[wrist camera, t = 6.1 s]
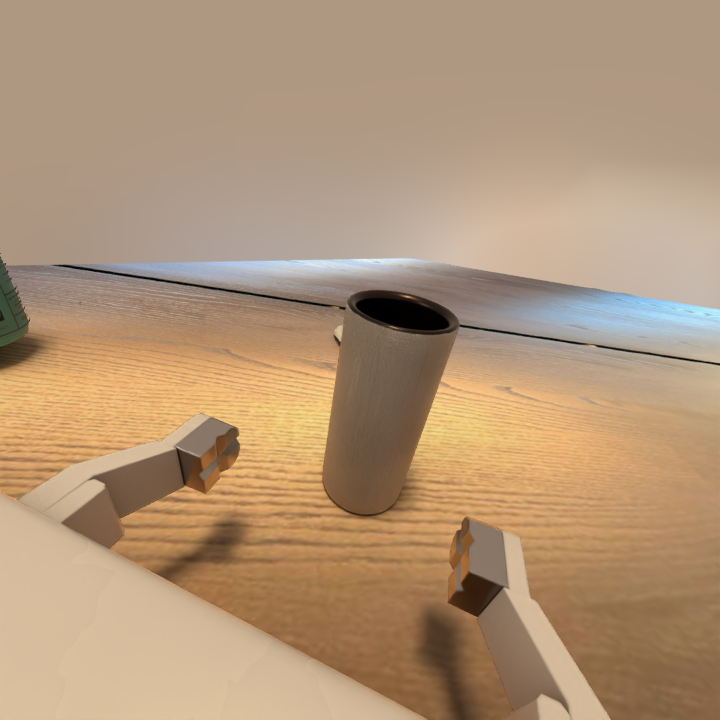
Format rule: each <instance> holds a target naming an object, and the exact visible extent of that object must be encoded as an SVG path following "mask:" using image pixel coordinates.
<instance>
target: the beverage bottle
mask: <svg viewBox="0 0 720 720" xmlns="http://www.w3.org/2000/svg"><path fill="white" fill-rule="evenodd" d="M5 265H6V263H5ZM5 265H4V264H3V261H2V259H1V257H0V347H1V346H4V345H7V344H9V343H12V342H14V341H16V340H18V339H20V338H21V337H23V336H24V335H25V334H26V333H27V332H28V324H29V323H28V322H29V321H30V319H29V321H28V319H27V317H26V315H27V314H25V312H24V309H25V307H24V309H23V308H22V305H21V304H22V303H20V302H21V301H19V298H20V297H18V296H17V295H18V293H19V291H17V293H16V292H15V289H16V288H15V289H14V287H13V285H12V282H11V279H12V278H9V275H8V270H7V271H6V268H5ZM16 287H17V286H16Z"/></svg>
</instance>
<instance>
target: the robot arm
mask: <svg viewBox="0 0 720 720" xmlns="http://www.w3.org/2000/svg"><path fill="white" fill-rule="evenodd" d="M238 436H239V430H238V428H236V427H234V426H232V425H229V424H227V423H225V422H222V421H220V420H218V419H215V418H213V417H210V416H208V415H205V414H203V413H200V414H196V415H195V416H193V417H192V418H191V419H189V420H188V421H187V422H185V423H184V424H183V425H181V426H180V427H179V428H177V429H176V430H175V431H173V432H172V433H171V434H169V435H168V436H167V437H165V438H164V439H163V440H161V441H158V440H155V441H152V442H148V443H145V444H142V445H138V446H135V447H131V448H128V449H125V450H121V451H118V452H114V453H111V454H108V455H104V456H101V457H97V458H94V459H91V460H87V461H84V462H80V463H77V464H73V465H70V466H69V467H67V468H65V469H64V470H62V471H61V472H59V473H58V474H56V475H55V476H53V477H51V478H50V479H48V480H47V481H45V482H44V483H42V484H41V485H39V486H37V487H36V488H34V489H33V490H31V491H30V492H28V493H27V494H25V495H23V496H22V497H20V498H19V499H17V500H16V499H14V498H12V497H11V496H9V495H7V494H5V493H3V492H1V491H0V720H428V719H426V718H425V717H423V716H421V715H419V714H417V713H415V712H413V711H411V710H410V709H408V708H406V707H404V706H402V705H400V704H398V703H396V702H395V701H393V700H391V699H389V698H387V697H385V696H383V695H381V694H380V693H378V692H376V691H374V690H372V689H370V688H368V687H366V686H365V685H363V684H361V683H359V682H357V681H355V680H353V679H352V678H350V677H348V676H346V675H344V674H342V673H340V672H338V671H337V670H335V669H333V668H331V667H329V666H327V665H325V664H323V663H322V662H320V661H318V660H316V659H314V658H312V657H310V656H308V655H307V654H305V653H303V652H301V651H299V650H297V649H295V648H293V647H292V646H290V645H288V644H286V643H284V642H282V641H280V640H278V639H277V638H275V637H273V636H271V635H269V634H267V633H265V632H263V631H262V630H260V629H258V628H256V627H254V626H252V625H250V624H248V623H247V622H245V621H243V620H241V619H239V618H237V617H235V616H234V615H232V614H230V613H228V612H226V611H224V610H222V609H220V608H219V607H217V606H215V605H213V604H211V603H209V602H207V601H205V600H204V599H202V598H200V597H198V596H196V595H194V594H192V593H190V592H189V591H187V590H185V589H183V588H181V587H179V586H177V585H175V584H174V583H172V582H170V581H168V580H166V579H164V578H162V577H160V576H159V575H157V574H155V573H153V572H151V571H149V570H147V569H145V568H144V567H142V566H140V565H138V564H136V563H134V562H132V561H130V560H129V559H127V558H125V557H123V556H121V555H119V554H117V553H115V552H114V551H112V550H110V548H111V547H112V546H113V545H114V544H115V543H116V542H117V541H118V540H119V539H120V538H121V537H122V536H123V535H124V531H125V530H124V528H123V525H122V523H121V521H120V518H122V517H124V516H127V515H129V514H131V513H133V512H135V511H137V510H139V509H141V508H143V507H145V506H147V505H149V504H151V503H153V502H155V501H157V500H159V499H161V498H163V497H165V496H167V495H169V494H171V493H173V492H175V491H177V490H179V489H181V488H183V487H184V485H185V486H188V487H190V488H193V489H195V490H197V491H200V492H202V493H205V494H206V493H207V492H208V491H209V490H210V489H211V488H212V487H213V485H214V484H215V483H216V482H217V481H218V480H219V479H220V472H222V471H225V470H227V469H229V468H230V467H231V466H232V465H233V463H234V462H235V460H236V459H237V457H238V455H239V451H240V444H239V442H238V441H237V439H236V438H237V437H238ZM449 562H450V564H451V567H452V569H453V572H452V573H451V575H450V577H449V581H448V603H449V604H451V605H453V606H455V607H457V608H459V609H461V610H464V611H466V612H468V613H470V614H472V615H474V616H476V617H478V618H477V621H478V623H479V626H480V628H481V631H482V633H483V636H484V638H485V641H486V644H487V646H488V649H489V651H490V654H491V656H492V659H493V661H494V664H495V666H496V669H497V671H498V674H499V677H500V679H501V682H502V684H503V687H504V689H505V692H506V694H507V697H508V699H509V702H510V705H511V707H512V710H513V712H512V713H510V714H509V715H507V716H506V717H504V718H503V719H501V720H611V719H610V717H609V716H608V714H607V713H606V711H605V709H604V708H603V706H602V705H601V703H600V701H599V700H598V698H597V697H596V695H595V693H594V692H593V690H592V689H591V687H590V686H589V684H588V682H587V681H586V679H585V678H584V676H583V674H582V673H581V671H580V670H579V668H578V666H577V665H576V663H575V662H574V660H573V658H572V657H571V655H570V654H569V652H568V651H567V649H566V647H565V646H564V644H563V643H562V641H561V639H560V638H559V636H558V635H557V633H556V631H555V630H554V628H553V627H552V625H551V623H550V622H549V620H548V619H547V617H546V615H545V614H544V612H543V611H542V609H541V608H540V606H539V604H538V603H537V601H535V600H533V599H531V597H530V591H529V585H528V580H527V574H526V568H525V562H524V556H523V550H522V544H521V540H520V538H519V536H517V535H514V534H512V533H509V532H507V531H504V530H501V529H499V528H497V527H495V526H492V525H489V524H486V523H484V522H481V521H478V520H476V519H473V518H470V517H468V516H467V517H465V518H464V519H463V521H462V526H461V530H458V531H457V532H456V534H455V536H454V538H453V541H452V545H451V550H450V561H449Z"/></svg>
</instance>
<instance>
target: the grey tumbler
mask: <svg viewBox="0 0 720 720" xmlns="http://www.w3.org/2000/svg"><path fill="white" fill-rule="evenodd" d="M458 330H459V321H458V319H457V317H456V316H455V315H454V314H453V313H452V312H451V311H450V310H448V309H447V308H445V307H443V306H441V305H439V304H437V303H435V302H433V301H430V300H428V299H425V298H422V297H418V296H415V295H411V294H406V293H401V292H395V291H386V290H368V291H361V292H358V293H355V294H353V295H352V296H350V297H349V299H348V300H347V304H346V310H345V317H344V324H343V331H342V338H341V345H340V352H339V359H338V366H337V373H336V380H335V387H334V394H333V402H332V409H331V416H330V423H329V430H328V437H327V444H326V451H325V458H324V465H323V483H324V487H325V489H326V491H327V493H328V495H329V496H330V497H331V499H332V500H333V501H334V502H335V503H336V504H338V505H339V506H340V507H342V508H344V509H346V510H348V511H350V512H353V513H357V514H364V515H370V514H377V513H380V512H383V511H385V510H387V509H388V508H389V507H391V506H392V505H393V504H394V503H395V502H396V500H397V498H398V496H399V494H400V492H401V490H402V487H403V484H404V482H405V479H406V476H407V473H408V470H409V468H410V465H411V462H412V459H413V456H414V454H415V451H416V448H417V445H418V442H419V439H420V437H421V434H422V431H423V428H424V425H425V423H426V420H427V417H428V414H429V411H430V409H431V406H432V403H433V400H434V397H435V395H436V392H437V389H438V386H439V383H440V380H441V378H442V375H443V372H444V369H445V366H446V364H447V361H448V358H449V355H450V352H451V350H452V347H453V344H454V341H455V338H456V335H457V333H458Z"/></svg>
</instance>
